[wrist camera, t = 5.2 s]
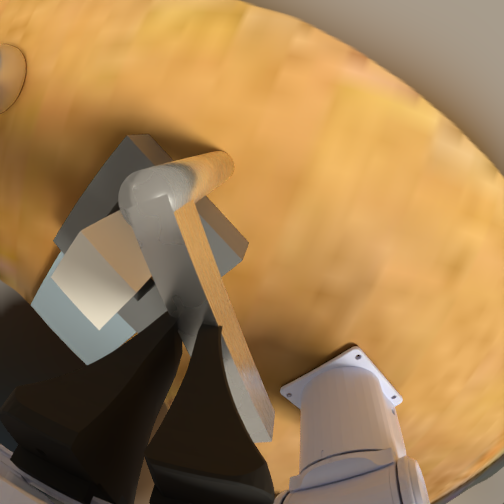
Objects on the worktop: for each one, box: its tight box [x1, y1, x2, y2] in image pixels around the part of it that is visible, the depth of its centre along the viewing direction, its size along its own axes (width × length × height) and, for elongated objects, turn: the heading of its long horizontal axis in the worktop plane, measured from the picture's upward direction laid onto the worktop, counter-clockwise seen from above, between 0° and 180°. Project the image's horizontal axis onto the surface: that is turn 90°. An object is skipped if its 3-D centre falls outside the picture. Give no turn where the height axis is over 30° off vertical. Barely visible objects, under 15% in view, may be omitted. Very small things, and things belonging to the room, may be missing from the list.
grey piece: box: [118, 151, 275, 443], centre depth 15 cm, size 13×2×10 cm, turn 17°
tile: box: [31, 251, 136, 365], centre depth 24 cm, size 9×9×2 cm
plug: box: [51, 210, 152, 330], centre depth 17 cm, size 4×4×8 cm
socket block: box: [53, 134, 249, 333], centre depth 20 cm, size 10×10×3 cm
